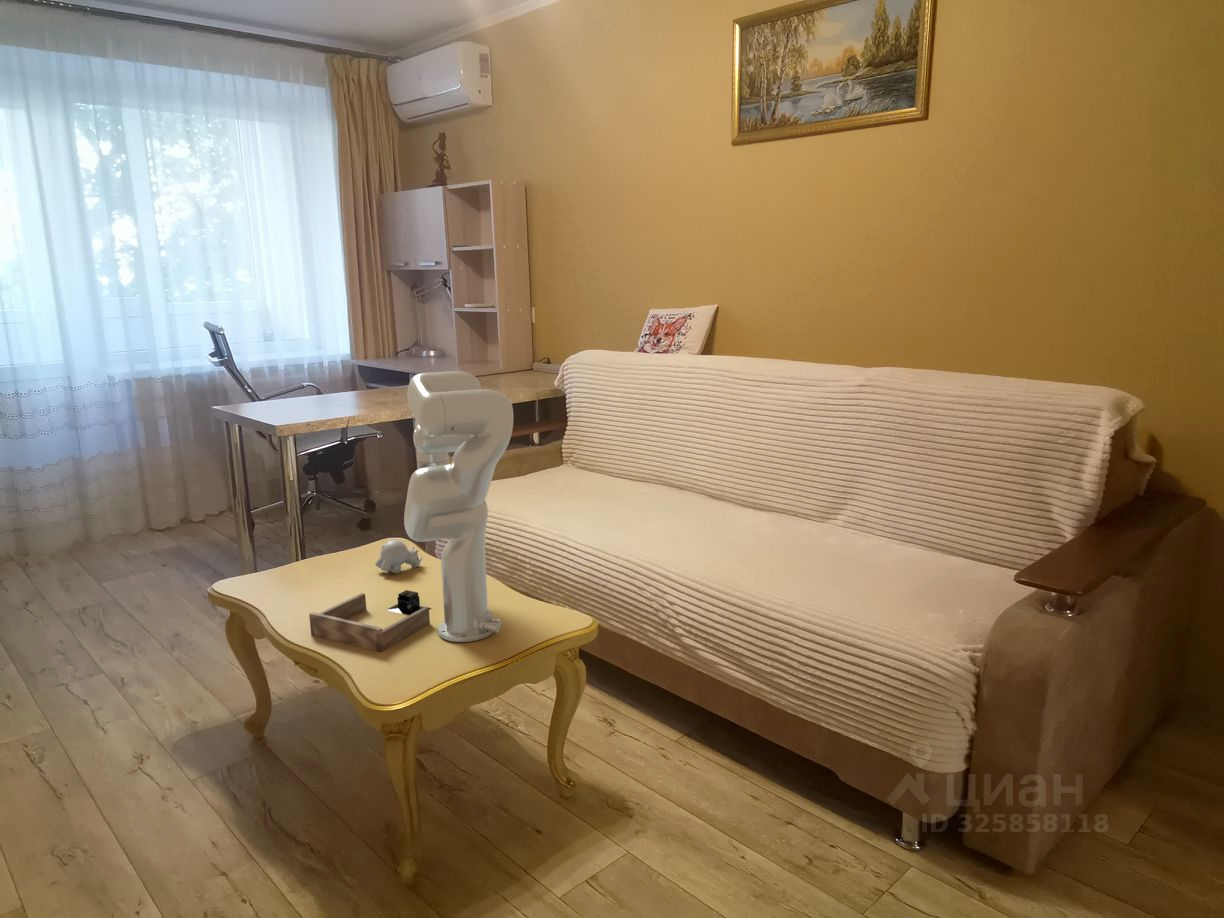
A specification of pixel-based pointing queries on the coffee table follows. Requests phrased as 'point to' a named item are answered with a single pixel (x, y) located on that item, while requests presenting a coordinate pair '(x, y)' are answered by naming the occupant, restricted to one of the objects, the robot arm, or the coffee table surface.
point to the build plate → (407, 603)
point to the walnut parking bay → (363, 625)
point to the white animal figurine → (397, 556)
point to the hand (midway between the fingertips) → (437, 538)
